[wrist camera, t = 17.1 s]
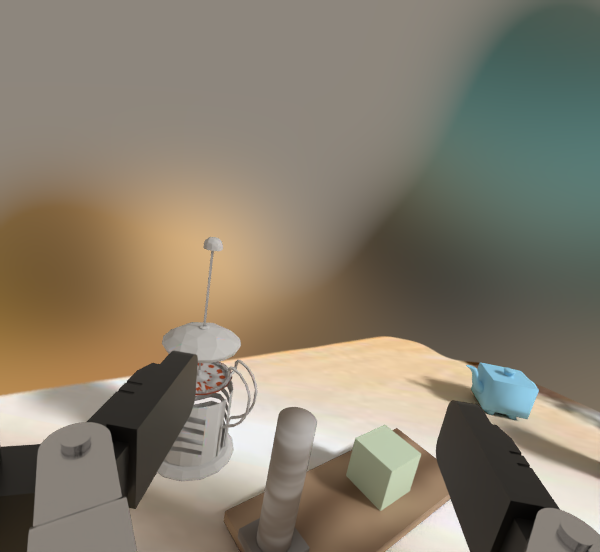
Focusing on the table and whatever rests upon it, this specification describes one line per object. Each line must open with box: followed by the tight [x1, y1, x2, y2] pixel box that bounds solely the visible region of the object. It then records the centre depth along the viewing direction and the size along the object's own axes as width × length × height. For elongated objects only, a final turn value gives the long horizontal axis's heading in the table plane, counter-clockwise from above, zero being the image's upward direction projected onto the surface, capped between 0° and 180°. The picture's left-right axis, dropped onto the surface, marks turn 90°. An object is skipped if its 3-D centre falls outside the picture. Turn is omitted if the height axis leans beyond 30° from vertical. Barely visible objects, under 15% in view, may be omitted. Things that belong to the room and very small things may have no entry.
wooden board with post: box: [224, 407, 450, 552], centre depth 36 cm, size 10×26×14 cm, turn 127°
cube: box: [346, 425, 421, 511], centre depth 39 cm, size 5×5×5 cm
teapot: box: [466, 363, 539, 420], centre depth 61 cm, size 12×6×8 cm, turn 83°
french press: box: [157, 237, 257, 481], centre depth 38 cm, size 10×12×25 cm
